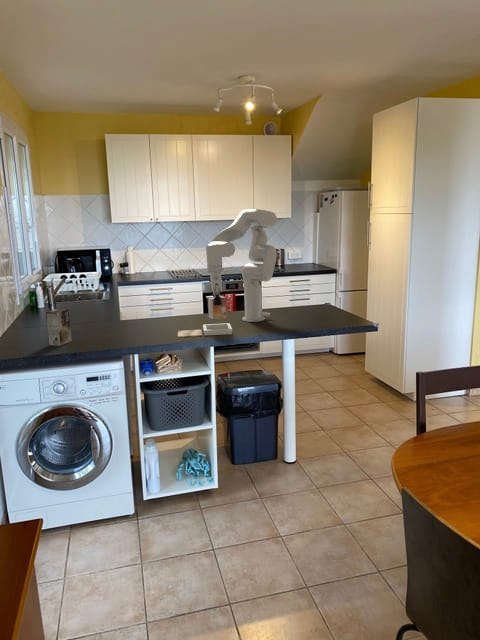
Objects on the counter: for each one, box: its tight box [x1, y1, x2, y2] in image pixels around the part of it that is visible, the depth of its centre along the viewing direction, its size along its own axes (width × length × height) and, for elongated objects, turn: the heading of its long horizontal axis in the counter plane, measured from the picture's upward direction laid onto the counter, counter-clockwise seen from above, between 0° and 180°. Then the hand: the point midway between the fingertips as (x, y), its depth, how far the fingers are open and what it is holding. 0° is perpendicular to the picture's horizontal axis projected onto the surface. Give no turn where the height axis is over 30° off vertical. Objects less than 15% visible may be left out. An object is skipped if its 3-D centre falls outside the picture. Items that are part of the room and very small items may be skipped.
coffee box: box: [45, 308, 73, 347], centre depth 232 cm, size 9×6×16 cm
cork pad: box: [177, 329, 203, 338], centre depth 244 cm, size 12×12×1 cm
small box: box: [207, 295, 228, 320], centre depth 245 cm, size 8×6×10 cm
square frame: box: [202, 322, 233, 336], centre depth 247 cm, size 14×14×2 cm
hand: (217, 303), depth 245 cm, fingers closed on small box, 7 cm apart
